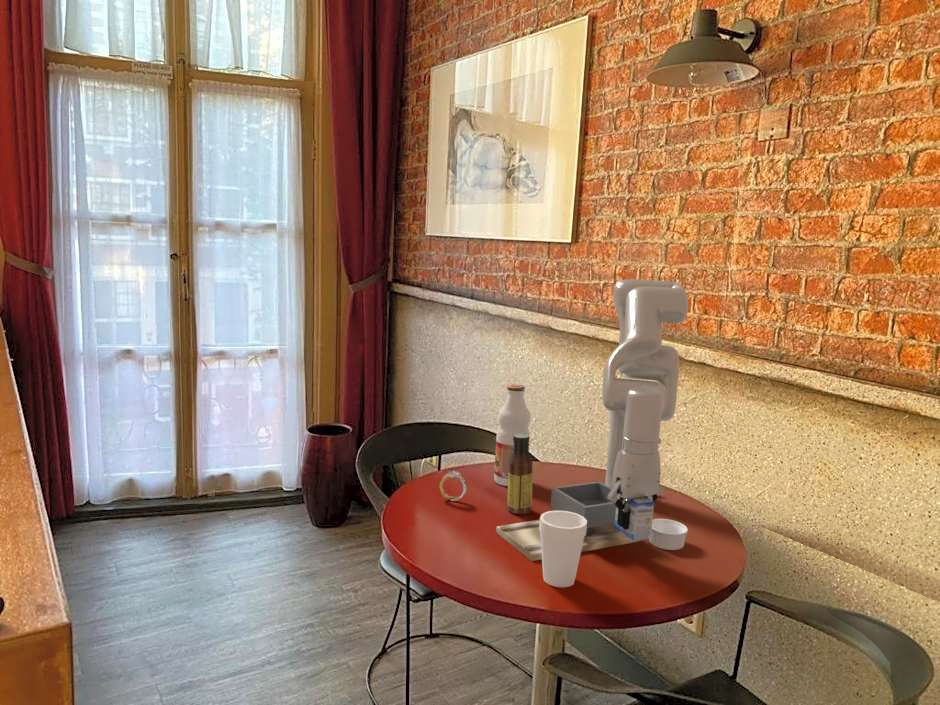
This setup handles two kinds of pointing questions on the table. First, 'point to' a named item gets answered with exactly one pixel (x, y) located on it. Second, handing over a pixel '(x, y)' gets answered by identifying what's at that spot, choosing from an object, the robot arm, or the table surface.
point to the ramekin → (668, 534)
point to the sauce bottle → (520, 476)
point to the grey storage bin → (586, 503)
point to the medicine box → (638, 519)
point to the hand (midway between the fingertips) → (632, 524)
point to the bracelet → (453, 475)
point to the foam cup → (561, 546)
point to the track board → (529, 538)
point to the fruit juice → (510, 430)
